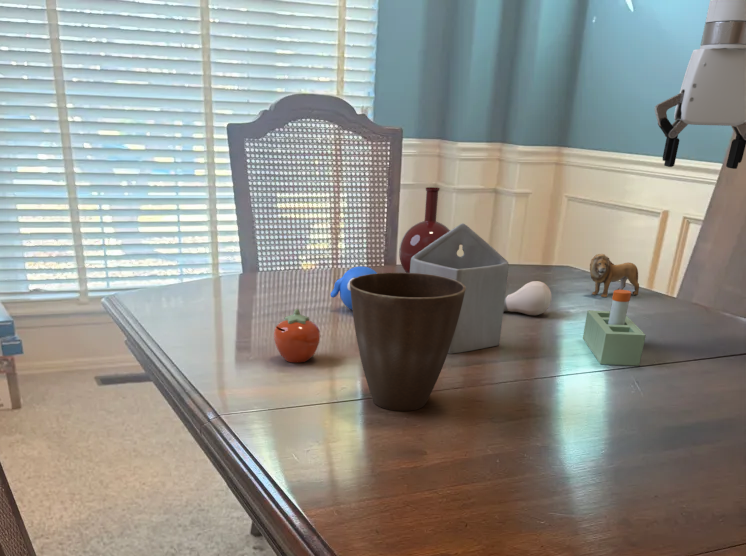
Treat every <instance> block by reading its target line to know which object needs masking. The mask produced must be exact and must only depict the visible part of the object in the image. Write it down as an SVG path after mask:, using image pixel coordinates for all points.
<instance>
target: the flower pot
mask: <svg viewBox="0 0 746 556" xmlns="http://www.w3.org/2000/svg"><path fill="white" fill-rule="evenodd" d="M350 290H351V300H352V310H351V311H352V318H353V325H354V331H355V337H356V342H357V348H358V352H359V357H360V361H361V365H362V366H361V367H362V370H363V373H364V377H365V381H366V384H367V387H368V390H369V393H370V396H371V400H372V402H373V403H374V404H375V405H376V406H378V407H380V408H383V409H386V410H390V411H396V412H409V411H410V412H411V411H416V410H419V409H421V408H423V407H424V406H425V405H427V402H428V400H429V398H430V396H431V394H432V393H433V390H434V388H435V386H436V384H437V381H438V379H439V377H440V374H441V372H442V369H443V367H444V365H445V362H446V359H447V356H448V355H449V354H448V351H449V348H450V345H451V342H452V339H453V336H454V333H455V330H456V326H457V323H458V319H459V315H460V311H461V307H462V303H463V299H464V294H465V290H466V287H465V285H464V284H463V283H461V282H459V281H456V280H453V279H450V278H446V277H441V276H436V275H429V274H420V273H406V272H377V274H368V275H363V276H359V277H356V278H354V279H352V280H351V281H350Z"/></svg>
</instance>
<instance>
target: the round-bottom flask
mask: <svg viewBox="0 0 746 556" xmlns="http://www.w3.org/2000/svg"><path fill="white" fill-rule="evenodd" d="M440 189H441V188H440V187H432V186H431V187H430V186H429V187H425V192H426V193H425V208H424V220H422V221H420V222H417V223H415V224H414V225H412V226H411V227H410V228H408V230H406V232H405V233H404V235H403V237H402V238H401V241H400V244H399V251H398V256H399V262H400V264H401V268H402V269H403V271H404V273H410V264H411V258H412V257H413V256H414V255H415V254H417V253H418V252H420V251H421V250H423V249H424V248H425V247H427V246H428V245H430V244H431V243H433V242H434V241H436V240H437V239H439V238H440V237H442V236H443V235H445V234H446V233H448V232H449V231H451V229H449V227H447V226H446V225H445V224H443V223H441V222H439V221H437V215H438V214H437V212H438V201H439V192H440Z"/></svg>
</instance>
